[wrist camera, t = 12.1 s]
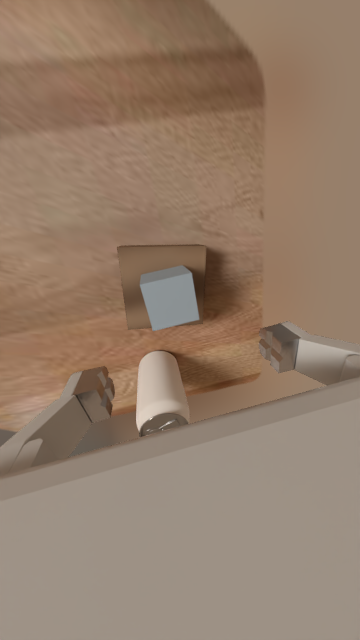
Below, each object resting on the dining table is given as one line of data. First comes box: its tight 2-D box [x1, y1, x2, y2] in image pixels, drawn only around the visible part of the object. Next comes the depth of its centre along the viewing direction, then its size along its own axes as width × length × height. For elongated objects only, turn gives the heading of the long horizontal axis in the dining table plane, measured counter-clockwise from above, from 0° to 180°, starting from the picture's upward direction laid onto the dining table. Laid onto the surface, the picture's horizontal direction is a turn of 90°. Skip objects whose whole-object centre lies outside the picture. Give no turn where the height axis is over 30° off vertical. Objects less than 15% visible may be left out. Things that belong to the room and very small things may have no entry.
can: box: [136, 351, 190, 437], centre depth 27 cm, size 6×6×12 cm
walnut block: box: [117, 244, 206, 330], centre depth 25 cm, size 10×10×4 cm
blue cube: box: [140, 265, 199, 331], centre depth 21 cm, size 5×5×5 cm
